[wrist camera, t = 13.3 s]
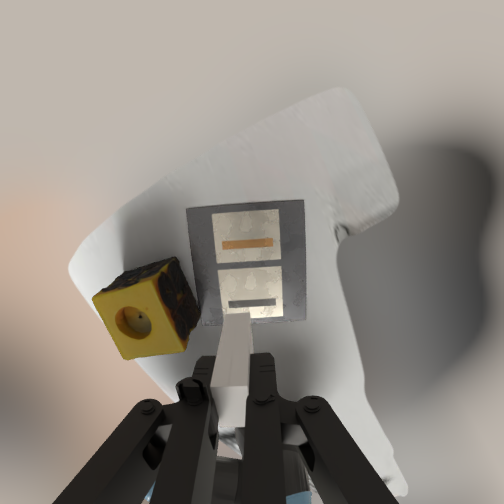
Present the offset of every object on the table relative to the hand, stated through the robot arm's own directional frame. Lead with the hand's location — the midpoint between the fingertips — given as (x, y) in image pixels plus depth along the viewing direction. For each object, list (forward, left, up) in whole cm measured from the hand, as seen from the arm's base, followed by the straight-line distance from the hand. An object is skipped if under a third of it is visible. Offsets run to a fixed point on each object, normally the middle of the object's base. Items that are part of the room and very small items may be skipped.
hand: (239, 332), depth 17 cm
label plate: (-4, 0, -23) cm, 23 cm away
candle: (-7, +14, -23) cm, 28 cm away
